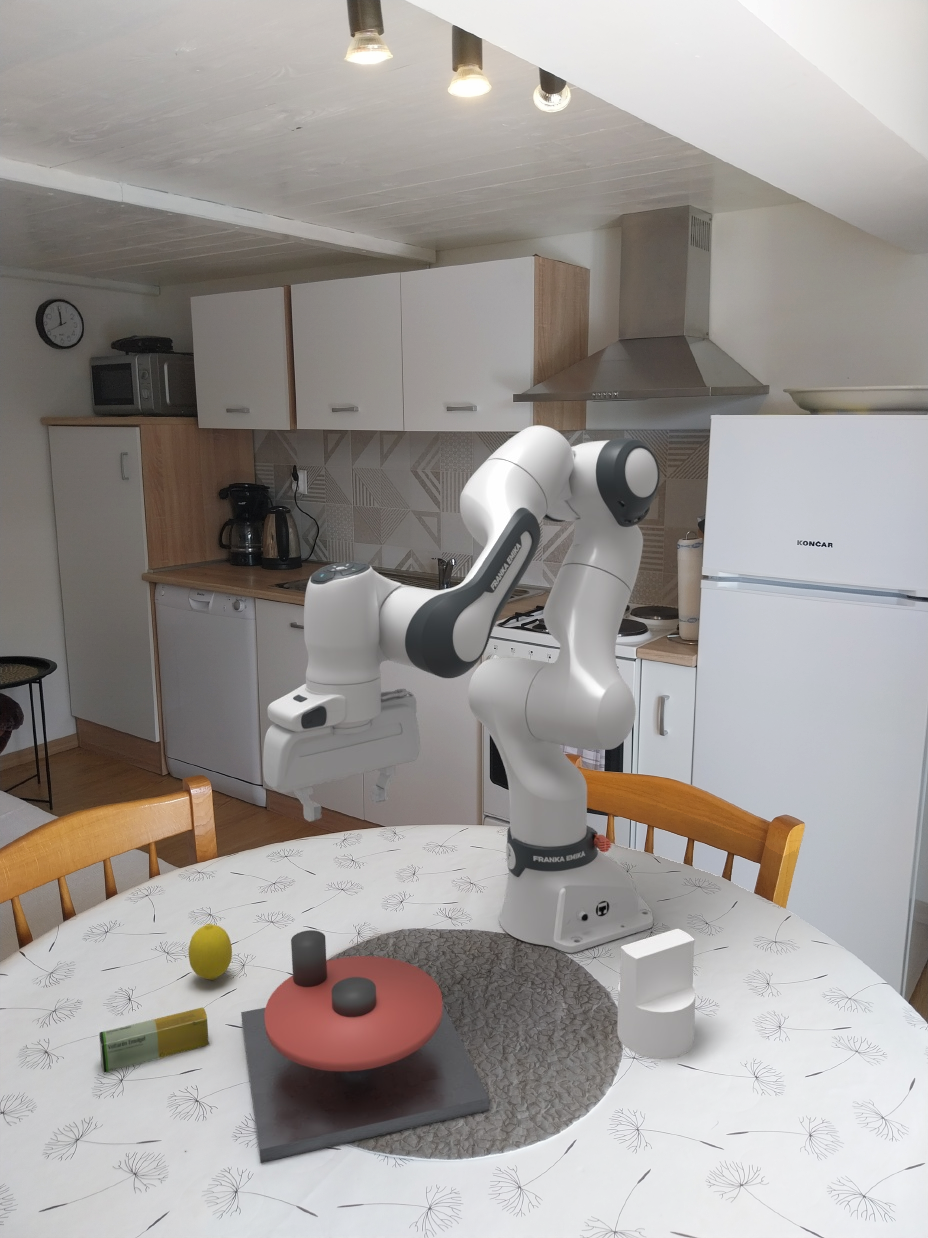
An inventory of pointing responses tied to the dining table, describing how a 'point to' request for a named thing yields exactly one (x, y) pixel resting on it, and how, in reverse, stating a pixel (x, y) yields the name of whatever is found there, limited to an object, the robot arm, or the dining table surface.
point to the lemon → (210, 951)
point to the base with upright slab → (657, 995)
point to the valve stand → (355, 1093)
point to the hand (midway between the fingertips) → (346, 809)
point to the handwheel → (350, 1009)
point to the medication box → (153, 1039)
